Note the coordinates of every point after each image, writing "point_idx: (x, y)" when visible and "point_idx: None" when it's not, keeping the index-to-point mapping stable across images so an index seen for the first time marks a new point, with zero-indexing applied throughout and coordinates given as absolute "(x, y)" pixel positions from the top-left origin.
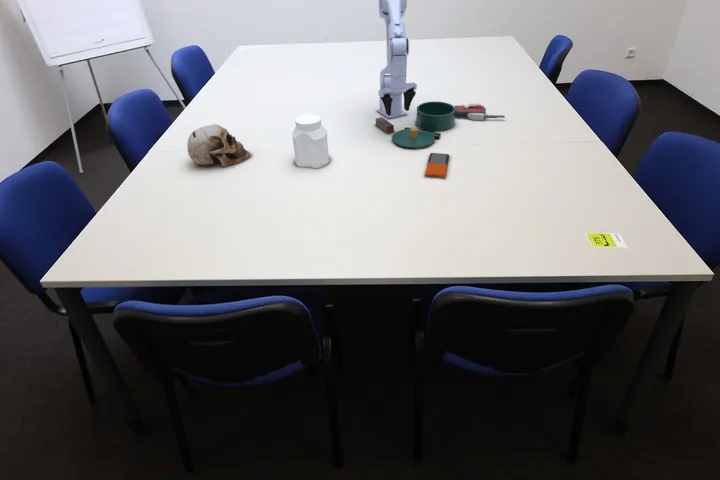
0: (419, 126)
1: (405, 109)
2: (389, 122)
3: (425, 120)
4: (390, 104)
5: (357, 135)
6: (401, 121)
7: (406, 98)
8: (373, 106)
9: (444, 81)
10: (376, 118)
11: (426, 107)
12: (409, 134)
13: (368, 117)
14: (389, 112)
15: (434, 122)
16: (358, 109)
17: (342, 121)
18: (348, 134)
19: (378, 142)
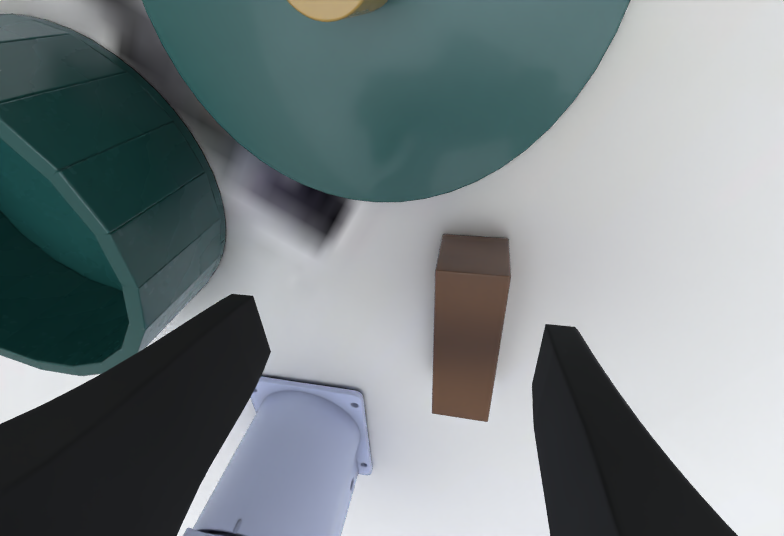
0: (212, 192)
1: (259, 335)
2: (436, 327)
3: (119, 154)
4: (655, 532)
5: (732, 342)
6: (305, 330)
7: (141, 487)
8: (364, 499)
9: None
10: (481, 419)
11: (82, 336)
12: (364, 65)
13: (456, 455)
14: (592, 361)
15: (32, 68)
16: (446, 518)
17: None
18: (769, 387)
19: (725, 128)
